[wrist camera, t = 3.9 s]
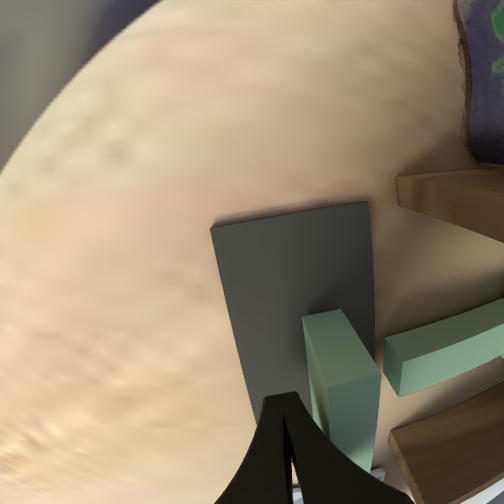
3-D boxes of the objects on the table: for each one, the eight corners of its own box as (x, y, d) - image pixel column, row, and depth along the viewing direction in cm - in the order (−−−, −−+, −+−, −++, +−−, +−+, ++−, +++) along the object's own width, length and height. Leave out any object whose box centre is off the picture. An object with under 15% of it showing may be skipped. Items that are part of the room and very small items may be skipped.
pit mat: (366, 441, 15) (368, 444, 15) (267, 462, 16) (268, 466, 15) (364, 201, 12) (367, 202, 11) (210, 227, 12) (209, 229, 11)
